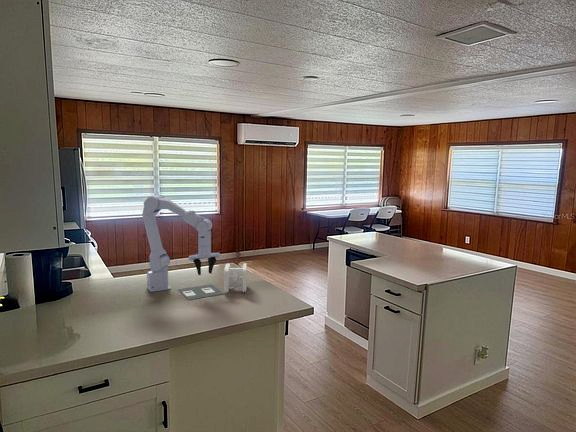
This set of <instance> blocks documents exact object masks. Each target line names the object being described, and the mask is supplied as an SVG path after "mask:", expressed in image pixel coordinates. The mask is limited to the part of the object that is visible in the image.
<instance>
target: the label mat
mask: <svg viewBox="0 0 576 432" xmlns="http://www.w3.org/2000/svg"><path fill="white" fill-rule="evenodd" d="M177 291H178V292H179V293H180V294H181V295H183V297H184V298H185V299H186V300H187V301H191V300H198V299H203V298H208V297H214V296H215V297H216V296H222V295H225V293H224V291H222V290H220V289H219V288H218V287H216V286H215V285H214V284H213V283H212V284H210V283H209V284H204V285H199V286H198V285H196V286H192V287H191V286H190V287H186V288H185V287H184V288H178V289H177Z"/></svg>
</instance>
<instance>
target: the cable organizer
mask: <svg viewBox="0 0 576 432" xmlns="http://www.w3.org/2000/svg"><path fill="white" fill-rule="evenodd" d="M222 274H223V293H224V294H227V293H229V291H230V290H233V289H234V288H238V290H242V293H243V294H245V293H246V292H247V281H248V279H247V278H248V277H247V275H248V263H245V262H243V265H242V267H231V264H230V263H226V264H225V265H224V269H223V273H222ZM244 292H245V293H244Z"/></svg>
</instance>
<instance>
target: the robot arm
mask: <svg viewBox="0 0 576 432" xmlns="http://www.w3.org/2000/svg"><path fill="white" fill-rule="evenodd" d="M161 210H168V211H170V212H172V213H173V214H176V215H178V216H179V217H181V218H182V220H183V221H184V222H185V223H186V224H188V225H190V226H192V227H193V228H195V229H196V231H197V233H198V234H197V236H198V237H197V239H198V240H197V242H198V243H197V244H198V247H197V250H198V251H197V253H196V254H193V255H188V261H190V262H192V261H193V264H194V265H195V268H196V271H197V275H198V276H202V275H201V274H202V269H201V268H202V261H201V260H206V259H207V262H208V274H212V273H213V270H214V266H215V264H216V262H217V258H221V253H220V252H212V233H211V232H212V231H211V229H212V228H213V223H212V221H211V220H210V218H207V217H206V218H205V216H201V215H199V214H198V213H196V211H195V210H190V209H189V210H186V209H185V208H183V207H181V206H180V205H178V204H177V203H175V202H174V201H172V200H171V199H170V198H169V197H165V196H164V195H162V194H161V195H160V194H159V195H154V196H148V197H147V198H146V199H145V201H144V202H143V209H142V215H141V216H142V220H143V223H144V227H145V228H144V229H145V231H146V235H147V240H148V244H149V249H150V254H149V256H148V258H149V262H148V265H149V269H150V270H149V271H147V272H146V288H147V289H148V291H149V292H150V293H152V292H160V291H167V290H171V289H172V287H171V286H169V266H170V264H171V258H170V257H169V255H168V254H167V251H166V249H164V247H163V243H162V239H161V236H160V235H161V234H160V230H159V227H158V222H157V219H156V216H157V215H158V214H159V212H160V211H161Z"/></svg>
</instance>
